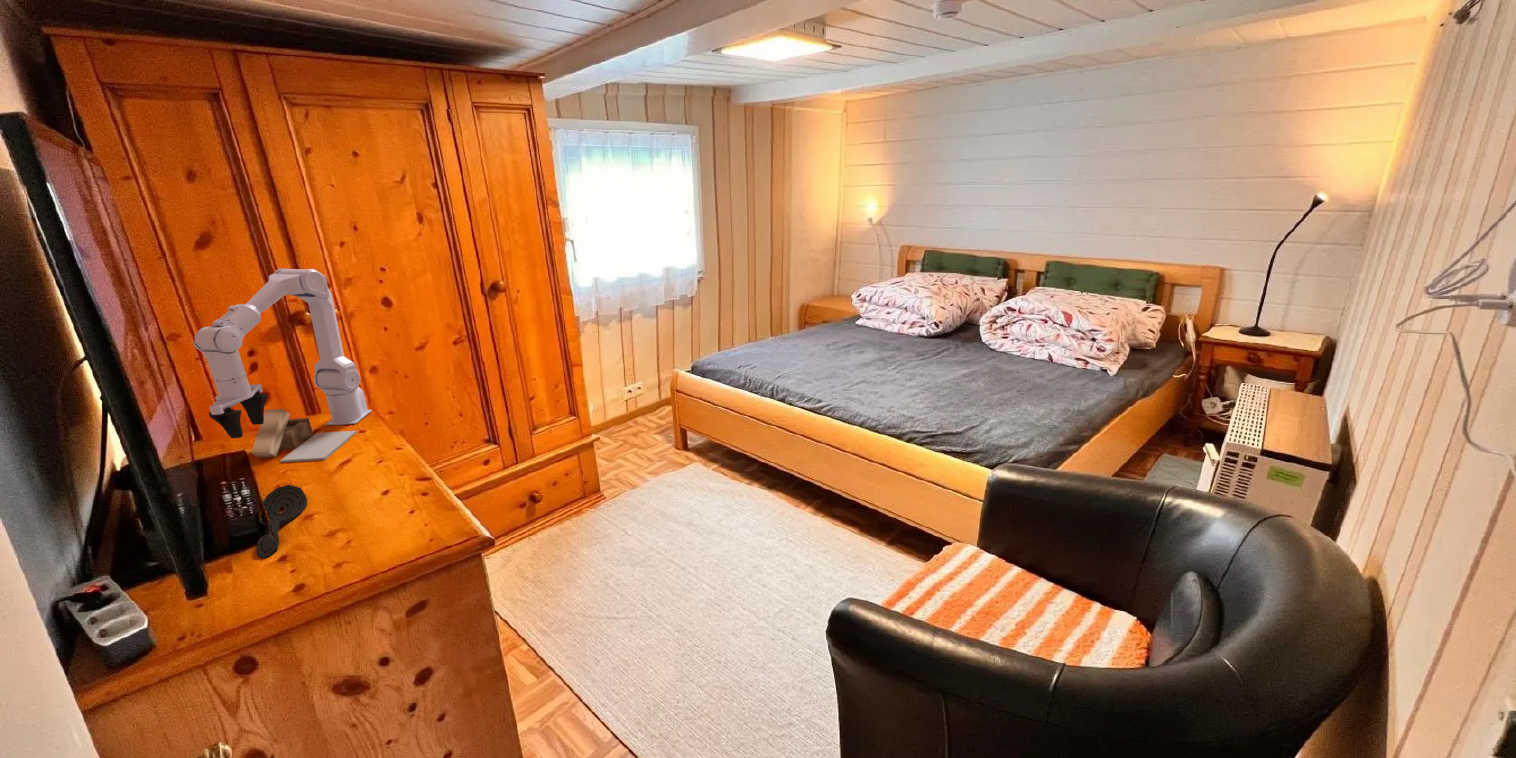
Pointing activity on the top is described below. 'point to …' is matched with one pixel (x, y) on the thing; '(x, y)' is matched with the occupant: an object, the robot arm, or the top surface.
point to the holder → (296, 433)
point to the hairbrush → (280, 515)
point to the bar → (270, 433)
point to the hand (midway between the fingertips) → (247, 430)
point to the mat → (319, 446)
